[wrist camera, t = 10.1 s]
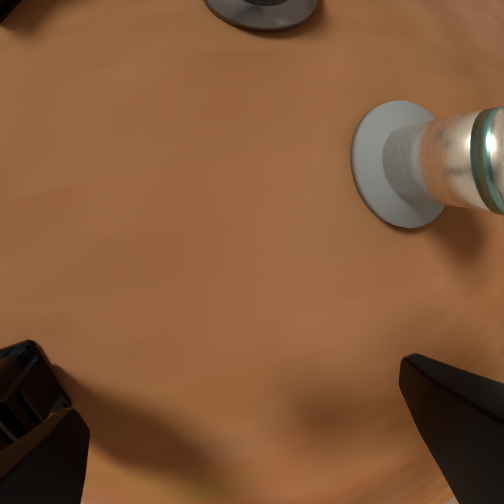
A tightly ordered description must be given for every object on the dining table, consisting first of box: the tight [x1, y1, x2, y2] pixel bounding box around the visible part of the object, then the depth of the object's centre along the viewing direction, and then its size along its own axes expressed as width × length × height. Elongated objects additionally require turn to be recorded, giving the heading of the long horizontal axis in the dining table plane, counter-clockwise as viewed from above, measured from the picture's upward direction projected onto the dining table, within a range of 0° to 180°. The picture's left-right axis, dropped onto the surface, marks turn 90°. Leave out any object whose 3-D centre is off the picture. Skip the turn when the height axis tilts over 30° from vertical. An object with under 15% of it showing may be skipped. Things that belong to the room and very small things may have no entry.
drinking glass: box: [382, 106, 504, 215], centre depth 14 cm, size 5×5×9 cm
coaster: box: [351, 100, 446, 228], centre depth 19 cm, size 9×9×1 cm
